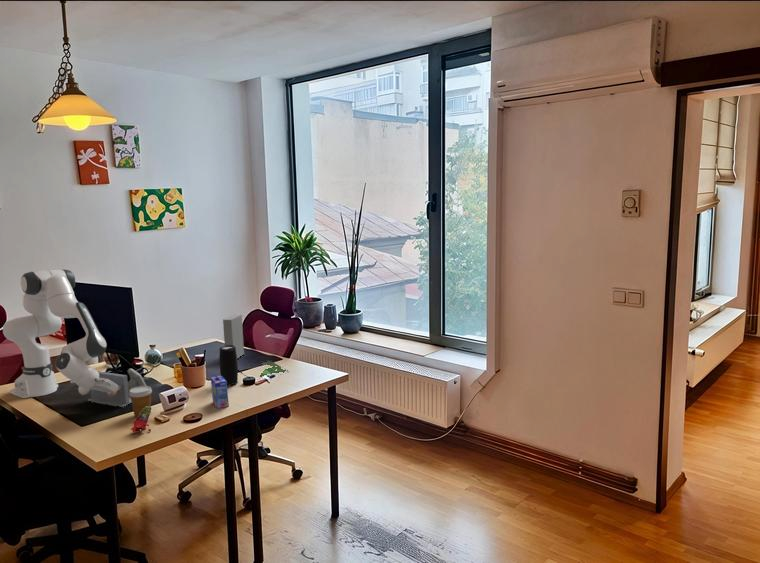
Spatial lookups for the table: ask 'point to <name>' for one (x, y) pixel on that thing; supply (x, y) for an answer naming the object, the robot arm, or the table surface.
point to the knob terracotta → (116, 391)
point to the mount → (116, 400)
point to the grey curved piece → (135, 379)
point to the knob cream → (83, 390)
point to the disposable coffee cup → (140, 398)
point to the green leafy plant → (271, 370)
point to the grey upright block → (234, 333)
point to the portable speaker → (228, 364)
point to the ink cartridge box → (219, 391)
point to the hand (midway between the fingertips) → (108, 392)
